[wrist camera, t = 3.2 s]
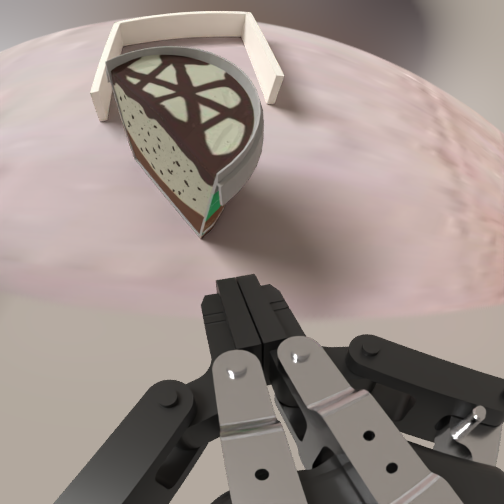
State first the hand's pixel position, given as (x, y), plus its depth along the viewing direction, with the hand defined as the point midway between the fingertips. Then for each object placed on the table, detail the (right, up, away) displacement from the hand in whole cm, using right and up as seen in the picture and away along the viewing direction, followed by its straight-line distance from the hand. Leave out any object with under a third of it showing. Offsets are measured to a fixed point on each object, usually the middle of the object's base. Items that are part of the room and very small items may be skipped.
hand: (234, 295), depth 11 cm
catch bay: (-7, +23, +15) cm, 28 cm away
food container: (-4, +8, +11) cm, 14 cm away
